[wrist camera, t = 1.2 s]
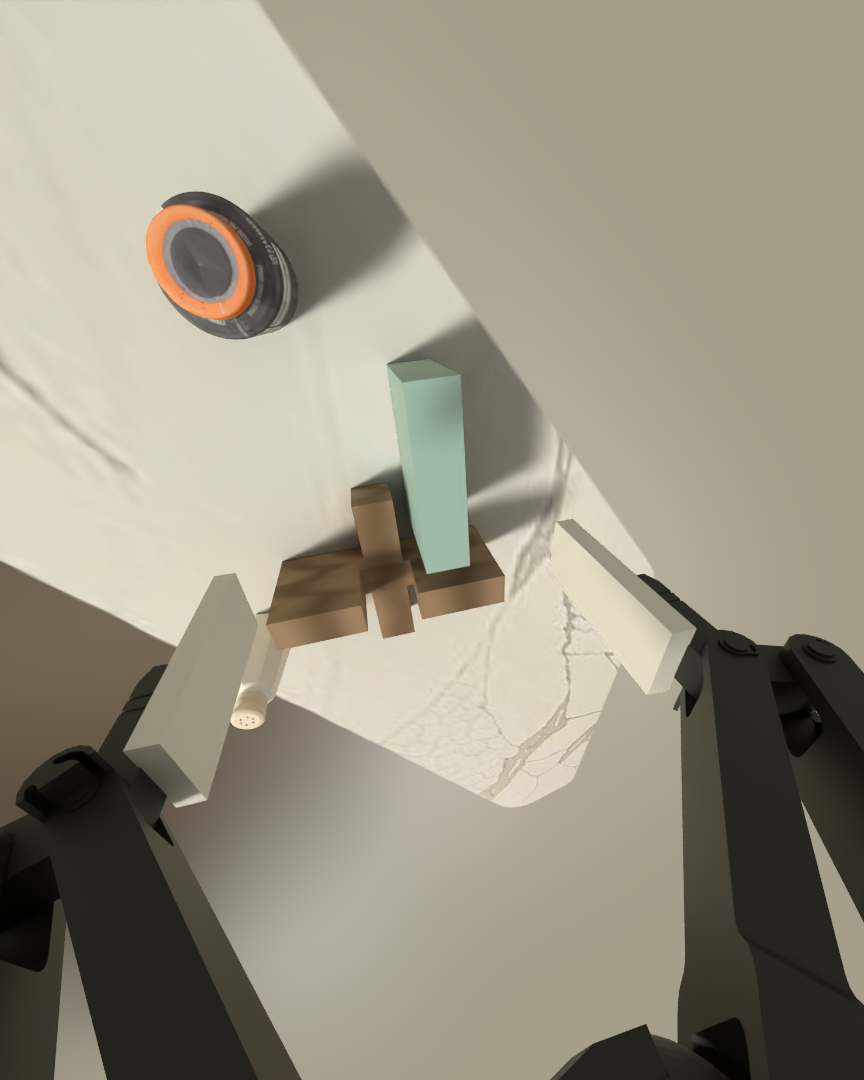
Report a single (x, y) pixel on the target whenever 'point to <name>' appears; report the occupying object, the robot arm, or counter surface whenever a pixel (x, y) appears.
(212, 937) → the robot arm
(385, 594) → the walnut joint base
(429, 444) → the teal block
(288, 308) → the pill bottle
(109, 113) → the counter surface
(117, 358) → the counter surface
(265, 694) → the pepper shaker
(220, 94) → the counter surface
